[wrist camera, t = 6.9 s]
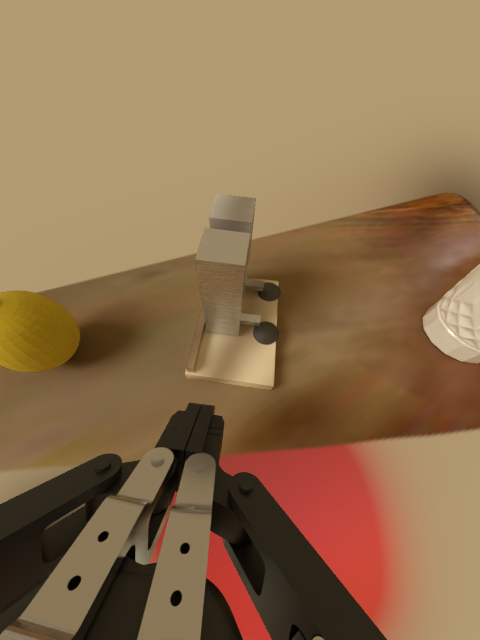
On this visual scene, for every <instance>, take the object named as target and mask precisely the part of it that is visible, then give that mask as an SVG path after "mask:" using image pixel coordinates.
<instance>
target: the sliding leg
mask: <svg viewBox="0 0 480 640" xmlns="http://www.w3.org/2000/svg"><path fill="white" fill-rule="evenodd" d="M249 240H250V233H244V232H236V231H228V230H220V229H212V228H205V230H204V233H203V236H202V240H201V243H200V246H199V249H198V252H197V255H196V258H195V263H196V269H197V275H198V282H199V288H200V294H201V301H202V307H203V313H204V320H205V326H206V332H209V333H216V334H223V335H231V336H239V329H240V324H246V325H254V326H260V320H261V316H260V315H252V314H245V313H242V309H243V299H244V289H245V279H246V270H247V260H248V250H249Z"/></svg>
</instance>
